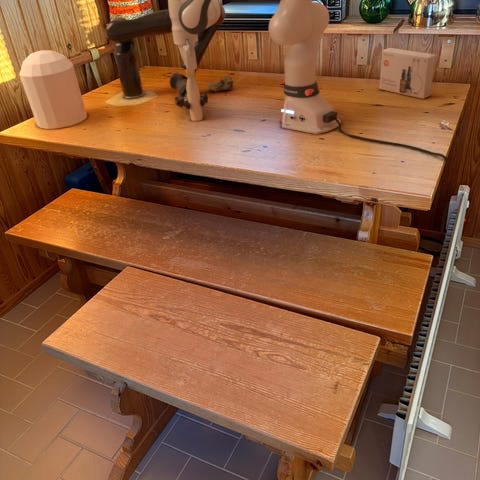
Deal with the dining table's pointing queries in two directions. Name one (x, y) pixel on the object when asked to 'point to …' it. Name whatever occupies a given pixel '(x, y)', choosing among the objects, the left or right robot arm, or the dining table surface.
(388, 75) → the skincare box
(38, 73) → the container
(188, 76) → the cap
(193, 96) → the bottle
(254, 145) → the dining table surface
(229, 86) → the rock
